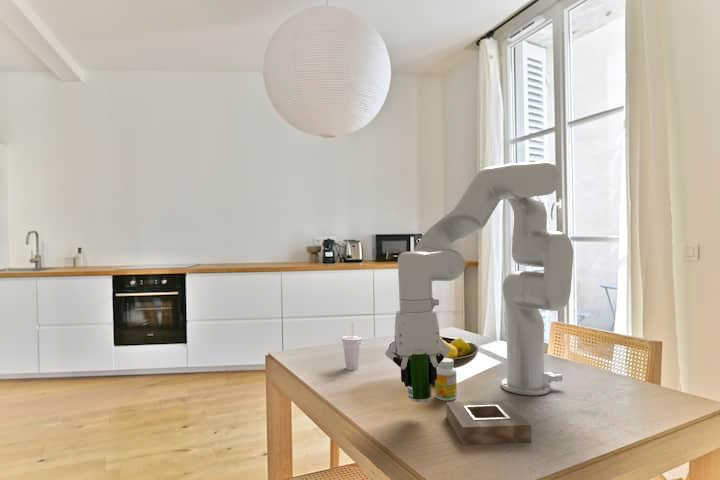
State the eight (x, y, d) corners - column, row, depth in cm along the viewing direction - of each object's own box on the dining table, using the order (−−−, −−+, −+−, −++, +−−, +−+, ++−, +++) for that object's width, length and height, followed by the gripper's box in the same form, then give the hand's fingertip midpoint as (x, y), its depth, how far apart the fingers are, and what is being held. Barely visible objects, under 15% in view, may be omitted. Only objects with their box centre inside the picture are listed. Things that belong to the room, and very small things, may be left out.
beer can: (418, 404, 106) (416, 351, 105) (403, 397, 110) (401, 346, 110) (436, 398, 109) (434, 346, 108) (420, 392, 113) (418, 342, 113)
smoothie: (366, 367, 150) (365, 323, 150) (355, 372, 145) (354, 326, 144) (349, 364, 154) (348, 321, 153) (337, 369, 148) (337, 324, 148)
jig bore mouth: (497, 405, 107) (497, 404, 107) (510, 419, 99) (510, 418, 99) (463, 406, 106) (463, 405, 106) (473, 420, 99) (473, 419, 99)
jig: (506, 415, 110) (506, 400, 110) (531, 442, 96) (531, 424, 96) (446, 417, 109) (446, 402, 109) (463, 444, 95) (462, 427, 95)
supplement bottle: (431, 395, 124) (430, 358, 124) (448, 392, 126) (448, 356, 126) (442, 402, 119) (442, 363, 119) (460, 399, 121) (460, 361, 121)
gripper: (449, 300, 113) (451, 376, 114) (377, 304, 112) (380, 380, 113) (457, 306, 105) (460, 387, 106) (380, 310, 104) (383, 392, 105)
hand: (419, 383), depth 109 cm, fingers closed on beer can, 5 cm apart
